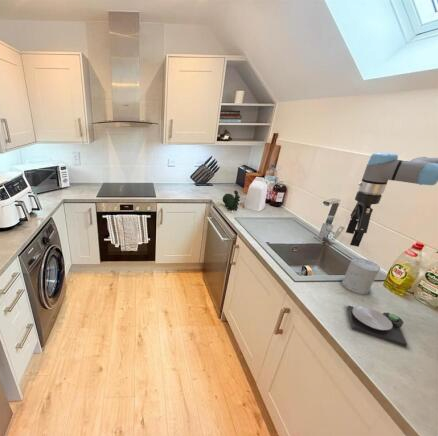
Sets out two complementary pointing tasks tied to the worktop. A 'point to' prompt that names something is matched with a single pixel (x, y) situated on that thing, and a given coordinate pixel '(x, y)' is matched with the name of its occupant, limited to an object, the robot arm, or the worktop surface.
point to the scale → (389, 335)
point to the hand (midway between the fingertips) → (351, 239)
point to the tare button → (393, 317)
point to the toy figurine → (231, 201)
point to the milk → (256, 195)
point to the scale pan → (372, 318)
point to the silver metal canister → (360, 275)
